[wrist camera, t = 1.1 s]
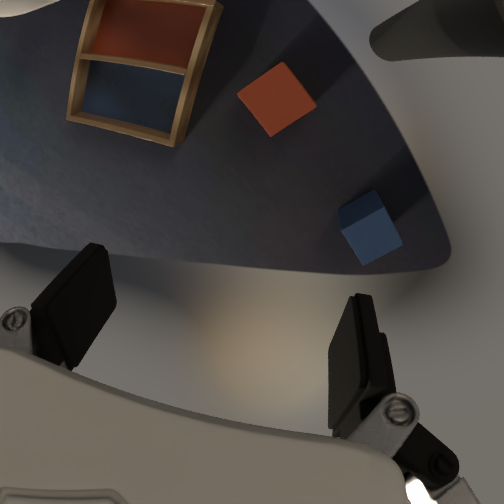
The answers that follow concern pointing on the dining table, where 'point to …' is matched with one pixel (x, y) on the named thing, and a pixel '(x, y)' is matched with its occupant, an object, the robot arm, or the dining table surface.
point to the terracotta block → (277, 99)
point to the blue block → (368, 227)
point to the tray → (142, 65)
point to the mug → (21, 6)
